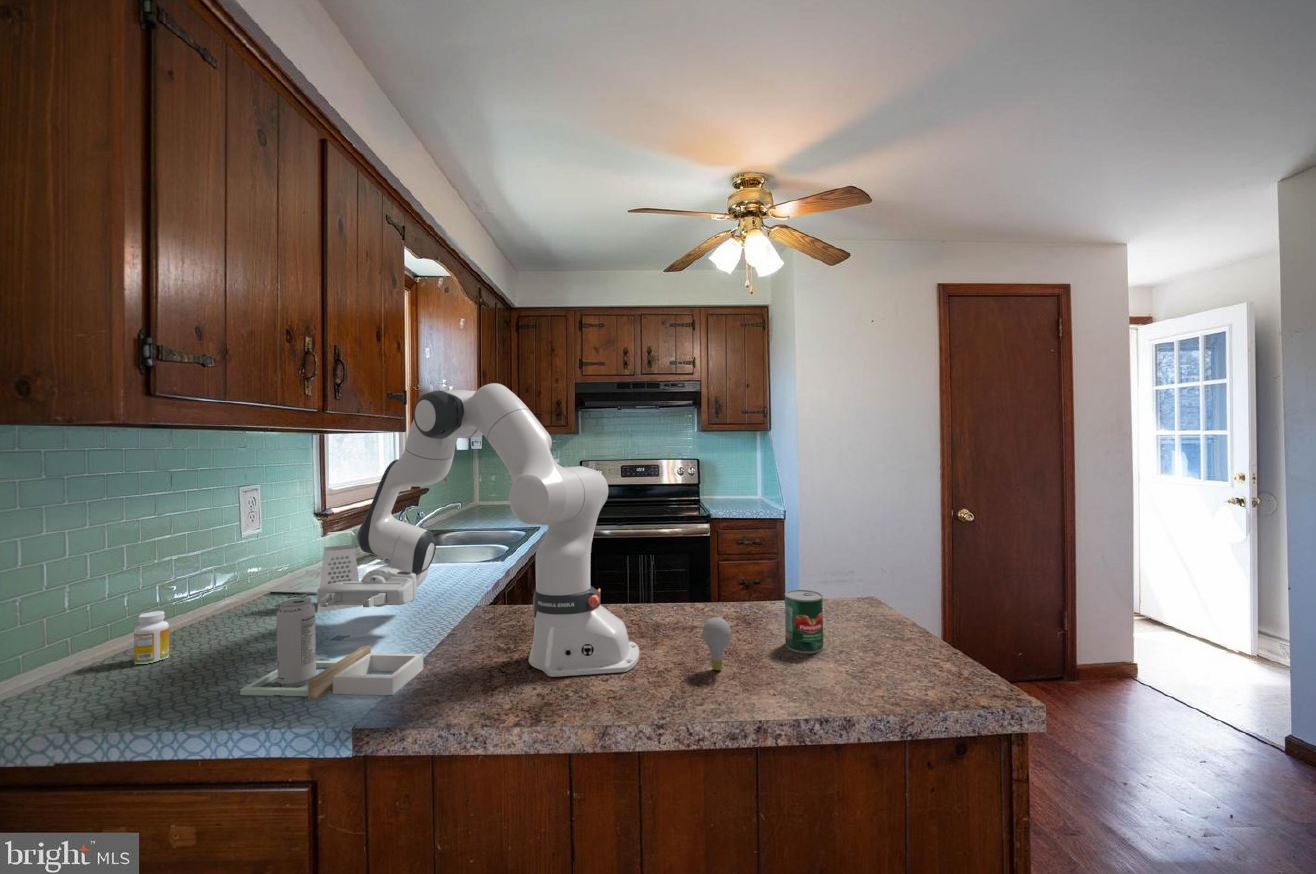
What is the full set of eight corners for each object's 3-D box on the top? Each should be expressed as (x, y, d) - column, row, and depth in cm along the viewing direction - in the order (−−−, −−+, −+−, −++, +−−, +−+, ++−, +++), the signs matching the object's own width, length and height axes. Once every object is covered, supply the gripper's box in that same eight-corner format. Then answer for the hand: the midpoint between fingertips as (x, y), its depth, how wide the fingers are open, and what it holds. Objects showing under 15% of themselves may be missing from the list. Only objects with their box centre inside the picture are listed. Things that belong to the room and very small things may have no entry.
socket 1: (355, 666, 110) (355, 661, 110) (310, 696, 97) (310, 690, 97) (293, 665, 111) (293, 660, 111) (240, 695, 98) (240, 689, 98)
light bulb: (736, 668, 107) (735, 616, 107) (724, 678, 102) (723, 624, 102) (710, 662, 110) (709, 612, 110) (698, 672, 105) (697, 620, 105)
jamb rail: (370, 663, 112) (370, 646, 112) (316, 700, 96) (316, 680, 96) (363, 663, 112) (363, 646, 112) (308, 700, 96) (308, 680, 96)
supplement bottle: (163, 653, 118) (163, 608, 118) (173, 658, 116) (173, 612, 116) (129, 662, 114) (129, 615, 114) (139, 667, 111) (139, 619, 111)
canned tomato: (808, 656, 112) (807, 602, 112) (777, 645, 118) (776, 594, 118) (831, 646, 117) (830, 595, 117) (800, 637, 123) (799, 587, 123)
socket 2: (423, 669, 108) (423, 654, 108) (392, 695, 97) (392, 678, 97) (369, 668, 109) (369, 653, 109) (332, 694, 98) (332, 677, 98)
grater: (362, 606, 152) (361, 533, 152) (317, 612, 146) (316, 537, 147) (360, 597, 161) (360, 528, 161) (318, 602, 156) (317, 531, 156)
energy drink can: (290, 676, 106) (288, 597, 106) (322, 674, 106) (321, 596, 107) (270, 689, 100) (268, 606, 100) (304, 688, 100) (303, 605, 101)
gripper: (339, 573, 132) (297, 588, 118) (422, 573, 130) (390, 589, 117) (339, 599, 132) (298, 618, 118) (422, 600, 130) (390, 618, 117)
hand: (344, 603), depth 117 cm, fingers open, 8 cm apart
